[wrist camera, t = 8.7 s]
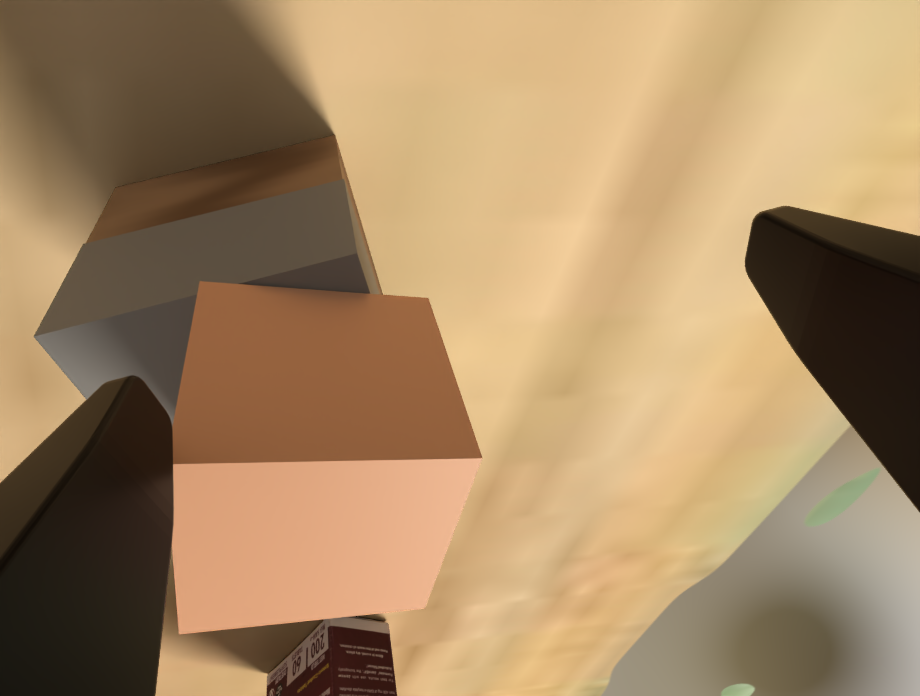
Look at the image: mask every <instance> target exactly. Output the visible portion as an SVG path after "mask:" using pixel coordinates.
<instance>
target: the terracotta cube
mask: <svg viewBox="0 0 920 696" xmlns="http://www.w3.org/2000/svg"><path fill="white" fill-rule="evenodd" d="M172 428H173V481H174V525H173V537H172V554H173V566H174V579H175V591H176V604H177V616H178V629H179V634H188V633H197V632H207V631H216V630H226V629H235V628H245V627H255V626H264V625H274V624H283V623H293V622H302V621H312V620H321V619H331V618H341V617H350V616H360V615H369V614H379V613H388V612H398V611H407V610H417V609H425V607H426V604H427V602H428V599H429V596H430V594H431V591H432V589H433V586H434V583H435V581H436V578H437V576H438V573H439V570H440V568H441V565H442V563H443V560H444V557H445V555H446V552H447V550H448V547H449V544H450V542H451V539H452V536H453V534H454V531H455V529H456V526H457V523H458V521H459V518H460V516H461V513H462V510H463V508H464V505H465V503H466V500H467V497H468V495H469V492H470V490H471V487H472V484H473V482H474V479H475V477H476V474H477V471H478V469H479V466H480V463H481V461H482V456H481V453H480V450H479V447H478V444H477V441H476V438H475V435H474V432H473V429H472V426H471V423H470V420H469V417H468V414H467V411H466V408H465V405H464V402H463V399H462V396H461V393H460V390H459V388H458V385H457V382H456V379H455V376H454V373H453V370H452V367H451V364H450V361H449V358H448V355H447V352H446V349H445V346H444V343H443V340H442V337H441V334H440V331H439V328H438V325H437V322H436V319H435V317H434V314H433V311H432V308H431V305H430V302H429V299H428V298H420V297H407V296H393V295H380V294H366V293H353V292H339V291H326V290H312V289H299V288H285V287H272V286H258V285H245V284H231V283H218V282H204V281H200V282H199V288H198V293H197V298H196V304H195V309H194V314H193V319H192V325H191V330H190V335H189V341H188V346H187V351H186V357H185V362H184V367H183V373H182V378H181V383H180V389H179V394H178V399H177V405H176V410H175V415H174V421H173V426H172Z"/></svg>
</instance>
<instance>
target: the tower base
mask: <svg viewBox="0 0 920 696" xmlns="http://www.w3.org/2000/svg"><path fill="white" fill-rule="evenodd" d="M342 179H344V180H345V183H346V187H347V190H348V193H349V196H350V199H351V203H352V206H353V209H354V212H355V216H356V219H357V222H358V225H359V229H360V232H361V235H362V238H363V242H364V245H365V248H366V251H367V255H368V258H369V261H370V264H371V267H372V271H373V274H374V277H375V280H376V284H377V287H378V290H379V293H380V295H383V294H382V290H381V287H380V284H379V280H378V277H377V274H376V270H375V267H374V264H373V260H372V257H371V254H370V250H369V247H368V244H367V240H366V237H365V234H364V230H363V227H362V224H361V220H360V217H359V214H358V210H357V207H356V204H355V200H354V197H353V193H352V190H351V187H350V183H349V180H348V177H347V173H346V170H345V167H344V163H343V160H342V157H341V153H340V150H339V147H338V143H337V140H336V137H335V135H332V136H328V137H324V138H320V139H315V140H311V141H307V142H303V143H299V144H295V145H290V146H286V147H282V148H278V149H274V150H270V151H266V152H261V153H257V154H253V155H249V156H245V157H241V158H236V159H232V160H228V161H224V162H220V163H216V164H211V165H207V166H203V167H199V168H195V169H191V170H187V171H182V172H178V173H174V174H170V175H166V176H162V177H157V178H153V179H149V180H145V181H141V182H137V183H132V184H128V185H124V186H120V187H116V188H115V190H114V191H113V193H112V195H111V197H110V199H109V201H108V203H107V205H106V206H105V208H104V210H103V212H102V214H101V216H100V218H99V220H98V222H97V223H96V225H95V227H94V229H93V231H92V233H91V235H90V237H89V238H88V240H87V242H86V243H89V242H93V241H97V240H101V239H105V238H109V237H113V236H117V235H121V234H125V233H129V232H133V231H137V230H141V229H145V228H149V227H153V226H157V225H161V224H165V223H169V222H173V221H177V220H181V219H185V218H190V217H194V216H198V215H202V214H206V213H210V212H214V211H218V210H222V209H226V208H230V207H234V206H238V205H242V204H246V203H250V202H254V201H258V200H262V199H266V198H270V197H274V196H278V195H282V194H286V193H290V192H294V191H298V190H302V189H306V188H310V187H314V186H318V185H322V184H326V183H330V182H334V181H338V180H342Z"/></svg>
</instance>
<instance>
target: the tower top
mask: <svg viewBox="0 0 920 696" xmlns="http://www.w3.org/2000/svg"><path fill="white" fill-rule="evenodd" d="M200 281H204V282H218V283H231V284H245V285H258V286H272V287H285V288H299V289H312V290H326V291H339V292H353V293H366V294H380V293H379V290H378V287H377V284H376V280H375V277H374V274H373V271H372V267H371V264H370V261H369V258H368V255H367V251H366V248H365V245H364V242H363V238H362V235H361V232H360V229H359V225H358V222H357V219H356V216H355V212H354V209H353V206H352V203H351V199H350V196H349V193H348V190H347V187H346V183H345V180H344V179H342V180H338V181H334V182H330V183H326V184H322V185H318V186H314V187H310V188H306V189H302V190H298V191H294V192H290V193H286V194H282V195H278V196H274V197H270V198H266V199H262V200H258V201H254V202H250V203H246V204H242V205H238V206H234V207H230V208H226V209H222V210H218V211H214V212H210V213H206V214H202V215H198V216H194V217H190V218H185V219H181V220H177V221H173V222H169V223H165V224H161V225H157V226H153V227H149V228H145V229H141V230H137V231H133V232H129V233H125V234H121V235H117V236H113V237H109V238H105V239H101V240H97V241H93V242H89V243H85V244H83V246H82V248H81V249H80V251H79V253H78V255H77V257H76V259H75V261H74V262H73V264H72V266H71V268H70V270H69V272H68V274H67V276H66V277H65V279H64V281H63V283H62V285H61V287H60V289H59V290H58V292H57V294H56V296H55V298H54V300H53V302H52V303H51V305H50V307H49V309H48V311H47V313H46V315H45V317H44V318H43V320H42V322H41V324H40V326H39V328H38V330H37V331H36V333H35V335H34V338H35V339H36V340H37V341H38V342H39V344H40V345H41V346H42V347H43V348H44V349H45V351H46V352H47V353H48V354H49V355H50V357H51V358H52V359H53V360H54V361H55V363H56V364H57V365H58V366H59V367H60V368H61V370H62V371H63V372H64V373H65V374H66V376H67V377H68V378H69V379H70V380H71V382H72V383H73V384H74V385H75V386H76V387H77V389H78V390H79V391H80V392H81V393H82V395H83V396H84V397H85V398H86V399H88V398H89V397H90V396H91V395H92V394H93V393H94V392H95V391H96V390H97V389H98V388H99V387H100V386H101V385H102V384H104V383H106V382H108V381H111V380H115V379H119V378H123V377H127V376H130V375H134V376H138V377H140V378H141V379H142V380H143V381H144V382H145V383H146V384H147V386H148V387H149V388H150V390H151V391H152V392H153V394H154V395H155V396H156V398H157V399H158V401H159V402H160V403H161V405H162V406H163V407H164V409H165V410H166V411H167V413H168V415H169V417H170V419H171V422H172V426H173V421H174V415H175V410H176V405H177V399H178V394H179V389H180V383H181V378H182V373H183V367H184V362H185V357H186V351H187V346H188V341H189V335H190V330H191V325H192V319H193V314H194V309H195V304H196V298H197V293H198V288H199V282H200Z"/></svg>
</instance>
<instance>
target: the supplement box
mask: <svg viewBox="0 0 920 696" xmlns="http://www.w3.org/2000/svg"><path fill="white" fill-rule="evenodd" d="M267 696H397V692H396V683H395V675H394V666H393V657H392V649H391V641H390V631H389V624H388V623H386V622H381V621H376V620H371V619H365V618H359V617H351V616H350V617H341V618H331V619H324V620H323V622H322V623H321V624H320V625H319V626H318V627H317V628H316V629H315V630H314V631H313V632H312V633H311V634H310V635H309V636H308V637H307V638H306V639H305V640H304V641H303V642H302V643H301V644H300V645H299V646H298V647H297V648H296V649H295V650H294V651H293V652H292V653H291V654H290V655H289V656H288V657H287V658H286V659H285V660H283V661H282V662H281V663H280V664H279V665H278V666H277V667H276V668H275V669H274V670H272V671H271V672H270V673H269V674H268V676H267Z"/></svg>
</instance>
